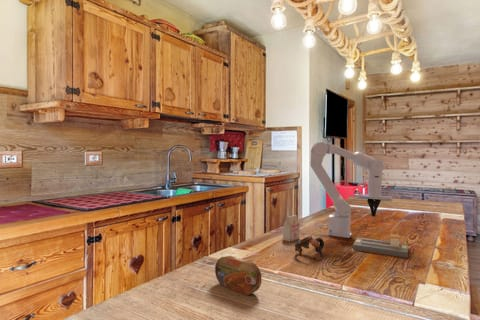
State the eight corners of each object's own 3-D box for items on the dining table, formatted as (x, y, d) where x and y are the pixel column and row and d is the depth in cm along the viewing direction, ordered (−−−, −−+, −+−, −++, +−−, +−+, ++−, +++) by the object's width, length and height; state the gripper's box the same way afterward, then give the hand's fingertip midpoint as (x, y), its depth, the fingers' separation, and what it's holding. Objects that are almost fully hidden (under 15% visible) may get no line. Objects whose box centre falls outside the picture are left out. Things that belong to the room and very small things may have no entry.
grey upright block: (282, 239, 139) (283, 216, 139) (292, 237, 144) (292, 214, 144) (289, 241, 137) (290, 217, 136) (299, 238, 141) (299, 215, 141)
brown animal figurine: (314, 264, 111) (302, 242, 113) (297, 268, 119) (286, 247, 120) (335, 249, 118) (323, 228, 120) (318, 254, 126) (307, 234, 127)
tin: (214, 283, 94) (214, 253, 93) (221, 279, 96) (222, 251, 96) (255, 299, 84) (256, 267, 84) (263, 295, 86) (263, 263, 86)
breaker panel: (352, 249, 127) (353, 243, 127) (356, 241, 138) (356, 235, 138) (407, 257, 119) (408, 250, 119) (407, 248, 129) (407, 242, 129)
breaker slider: (390, 246, 125) (390, 236, 125) (390, 243, 128) (391, 233, 128) (399, 247, 124) (399, 237, 123) (399, 244, 127) (399, 234, 127)
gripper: (356, 185, 145) (355, 215, 146) (392, 187, 139) (390, 219, 139) (358, 184, 152) (357, 213, 152) (392, 186, 145) (391, 216, 145)
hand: (373, 216), depth 146 cm, fingers closed
